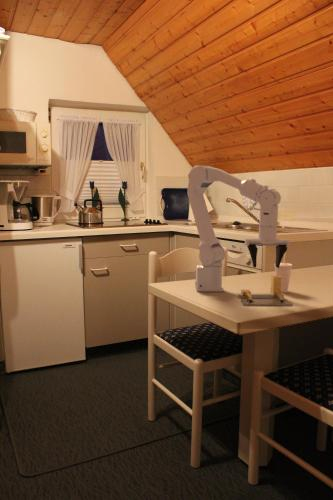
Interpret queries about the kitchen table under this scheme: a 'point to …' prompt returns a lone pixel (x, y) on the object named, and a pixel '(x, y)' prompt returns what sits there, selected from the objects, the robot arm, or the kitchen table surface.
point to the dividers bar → (256, 295)
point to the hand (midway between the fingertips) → (265, 267)
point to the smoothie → (284, 274)
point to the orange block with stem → (276, 286)
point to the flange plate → (266, 302)
